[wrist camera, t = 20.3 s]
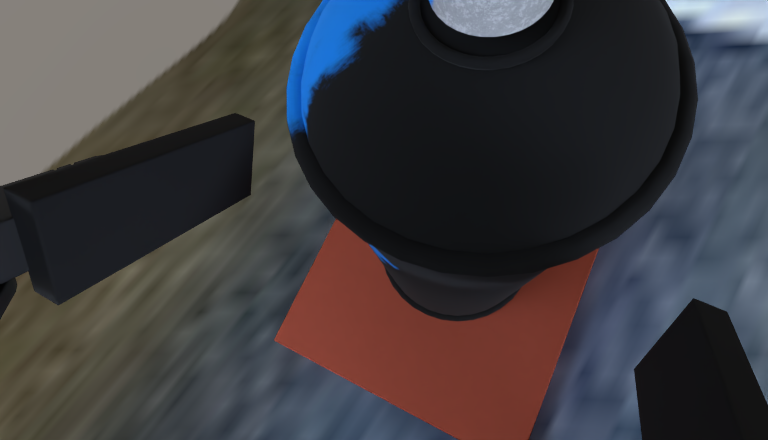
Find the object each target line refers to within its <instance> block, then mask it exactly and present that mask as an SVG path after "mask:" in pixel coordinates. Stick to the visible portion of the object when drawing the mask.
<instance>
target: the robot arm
mask: <svg viewBox="0 0 768 440" xmlns="http://www.w3.org/2000/svg"><path fill="white" fill-rule="evenodd" d="M254 126H255V121H254V120H251V119H249V118H246V117H244V116H241V115H239V114H236V113H234V114H231V115H228V116H224V117H221V118H218V119H215V120H212V121H209V122H206V123H203V124H200V125H196V126H193V127H190V128H187V129H184V130H181V131H178V132H175V133H171V134H168V135H165V136H162V137H159V138H156V139H153V140H150V141H147V142H143V143H140V144H137V145H134V146H131V147H128V148H125V149H122V150H119V151H115V152H112V153H109V154H106V155H101V156H94V157H91V158H88V159H85V160H81V161H78V162H75V163H74V164H73V165H71V164H69V165H66V166H63V167H59V168H57V170H56V171H55V170H50V171H47V172H44V173H40V174H37V175H34V176H31V177H28V178H25V179H22V180H18V181H15V182H12V183H9V184H6V185H3V186H0V319H1V317H2V315H3V313H4V312H5V310H6V308H7V306H8V304H9V303H10V301H11V299H12V297H13V296H14V294H15V292H16V288H17V282H16V279H15V277H17V276H19V275H21V274H23V273H25V272H27V271H29V275H30V278H31V281H32V285H33V288H34V291H35V292H37V293H39V294H40V295H42V296H44V297H45V298H47V299H49V300H50V301H52V302H53V303H55V304H57V305H60V304H62V303H63V302H65V301H67V300H69V299H70V298H72V297H74V296H75V295H77V294H79V293H81V292H82V291H84V290H86V289H88V288H89V287H91V286H93V285H95V284H96V283H98V282H100V281H102V280H103V279H105V278H107V277H108V276H110V275H112V274H114V273H115V272H117V271H119V270H121V269H122V268H124V267H126V266H128V265H129V264H131V263H133V262H135V261H136V260H138V259H140V258H141V257H143V256H145V255H147V254H148V253H150V252H152V251H154V250H155V249H157V248H159V247H161V246H162V245H164V244H166V243H168V242H169V241H171V240H173V239H174V238H176V237H178V236H180V235H181V234H183V233H185V232H187V231H188V230H190V229H192V228H194V227H195V226H197V225H199V224H201V223H202V222H204V221H206V220H207V219H209V218H211V217H213V216H214V215H216V214H218V213H220V212H221V211H223V210H225V209H227V208H228V207H230V206H232V205H234V204H235V203H237V202H239V201H240V200H242V199H244V198H246V197H247V196H249V195H251V179H252V161H253V144H254ZM634 372H635V381H636V390H637V398H638V407H639V415H640V424H641V432H642V440H768V405H767V402H766V400H765V398H764V395H763V393H762V391H761V389H760V386H759V384H758V382H757V379H756V377H755V375H754V372H753V370H752V368H751V366H750V363H749V361H748V359H747V356H746V354H745V352H744V349H743V347H742V345H741V343H740V340H739V338H738V336H737V333H736V331H735V329H734V326H733V324H732V322H731V320H730V317H729V315H728V313H727V312H726V311H724V310H721V309H719V308H716V307H714V306H711V305H709V304H707V303H704V302H702V301H699V300H697V299H694V298H693V299H692V301H691V302H690V303H689V304H688V305H687V307H686V308H685V309H684V310H683V311H682V312H681V314H680V315H679V316H678V317H677V318H676V320H675V321H674V322H673V323H672V324H671V326H670V327H669V328H668V329H667V330H666V332H665V333H664V334H663V335H662V336H661V338H660V339H659V340H658V341H657V342H656V344H655V345H654V346H653V347H652V348H651V350H650V351H649V352H648V353H647V354H646V356H645V357H644V358H643V359H642V360H641V362H640V363H639V364H638V365H637V366H636V367H635V369H634Z"/></svg>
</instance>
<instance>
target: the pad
mask: <svg viewBox="0 0 768 440" xmlns="http://www.w3.org/2000/svg"><path fill="white" fill-rule="evenodd" d="M598 249H599V248H598ZM598 249H596V250H594V251H592V252H590V253H589V254H587V255H585V256H583V257H581V258H579V259H577V260H574V261H571V262H568V263H564V264H561V265H558V266H554V267H551V268H548V269H546V270H545V271H543V272H542V273H541V274H539V275H538V276H536V277H535V278H534V279H532V280H531V281H529V282H528V283H527V284H525V285H524V286H522V287H521V289H520V290H519V291H518V292H517V294H516V295H515V296H514V298H513V299H512V300H511V301H509V302H508V303H507V304H506V305H505V306H503V307H502V308H501V309H499V310H497V311H495V312H494V313H492V314H490V315H488V316H485V317H482V318H478V319H475V320H469V321H448V320H441V319H438V318H435V317H432V316H428V315H426V314H424V313H422V312H421V311H419V310H417V309H415V308H413V307H412V306H411V305H410V304H409V303H407V302H406V301H405V300H404V299H403V298H402V297H401V296H400V295H399V293H398V292H397V291H396V290H395V288H394V287H393V286H392V284H391V282H390V280H389V278H388V276H387V274H386V271H385V267H384V265H383V264H382V262H381V261H380V260H379V258H378V257H377V255H376V254H375V253H374V251H373V250H372V249H371V247H370V246H369V244H368V243H366V242H364V241H363V240H362V239H361V238H359V237H358V236H357V235H356V234H355V233H353V232H352V231H351V230H350V229H348V228H347V227H346V226H345V225H344V224H342V223H341V222H340V221H339V220H337V219H336V220H335V222H334V224H333V226H332V228H331V230H330V232H329V234H328V236H327V238H326V240H325V242H324V243H323V245H322V247H321V249H320V251H319V253H318V255H317V257H316V259H315V261H314V263H313V265H312V267H311V269H310V271H309V273H308V275H307V277H306V279H305V281H304V283H303V284H302V286H301V288H300V290H299V292H298V294H297V296H296V298H295V300H294V302H293V304H292V306H291V308H290V310H289V312H288V314H287V316H286V318H285V320H284V322H283V323H282V325H281V327H280V329H279V331H278V333H277V335H276V337H275V339H274V340H275V341H276V342H278V343H280V344H282V345H284V346H285V347H287V348H289V349H291V350H293V351H295V352H297V353H298V354H300V355H302V356H304V357H306V358H308V359H310V360H312V361H313V362H315V363H317V364H319V365H321V366H323V367H325V368H326V369H328V370H330V371H332V372H334V373H336V374H338V375H339V376H341V377H343V378H345V379H347V380H349V381H351V382H352V383H354V384H356V385H358V386H360V387H362V388H364V389H365V390H367V391H369V392H371V393H373V394H375V395H377V396H378V397H380V398H382V399H384V400H386V401H388V402H390V403H391V404H393V405H395V406H397V407H399V408H401V409H403V410H404V411H406V412H408V413H410V414H412V415H414V416H416V417H418V418H419V419H421V420H423V421H425V422H427V423H429V424H431V425H432V426H434V427H436V428H438V429H440V430H442V431H444V432H445V433H447V434H449V435H451V436H453V437H455V438H457V439H458V440H529V438H530V435H531V432H532V429H533V427H534V424H535V421H536V418H537V416H538V413H539V410H540V408H541V405H542V402H543V399H544V397H545V394H546V391H547V388H548V386H549V383H550V380H551V378H552V375H553V372H554V369H555V367H556V364H557V361H558V358H559V356H560V353H561V350H562V347H563V345H564V342H565V339H566V337H567V334H568V331H569V328H570V326H571V323H572V320H573V317H574V315H575V312H576V309H577V307H578V304H579V301H580V298H581V296H582V293H583V290H584V287H585V285H586V282H587V279H588V276H589V274H590V271H591V268H592V266H593V263H594V260H595V257H596V255H597V252H598Z"/></svg>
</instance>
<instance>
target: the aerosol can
mask: <svg viewBox="0 0 768 440" xmlns="http://www.w3.org/2000/svg"><path fill="white" fill-rule="evenodd" d="M697 102H698V95H697V84H696V73H695V63H694V60H693V57H692V54H691V51H690V48H689V45H688V42H687V39H686V36H685V33H684V31H683V28H682V26H681V25H680V23H679V22H678V20H677V18H676V17H675V15H674V14H673V12H672V10H671V9H670V7H669V6H668V4H667V2H666V1H665V0H323V1H322V3H321V4H320V6H319V7H318V9H317V10H316V12H315V13H314V15H313V16H312V17H311V19H310V20H309V22H308V23H307V25H306V26H305V29H304V31H303V33H302V36H301V38H300V41H299V43H298V45H297V48H296V50H295V52H294V55H293V58H292V63H291V68H290V73H289V78H288V83H287V123H288V127H289V131H290V136H291V140H292V144H293V148H294V152H295V156H296V158H297V160H298V162H299V165H300V167H301V169H302V171H303V173H304V175H305V177H306V179H307V181H308V183H309V185H310V187H311V188H312V190H313V191H314V192H315V193H316V195H317V196H318V197H319V199H320V200H321V201H322V202H323V204H324V205H325V206H326V207H327V209H328V210H329V211H330V212H331V214H332V215H333V216H334V217H335V218H336V219H337V220H339V221H340V222H341V223H342V224H344V225H345V226H346V227H347V228H348V229H350V230H351V231H352V232H353V233H355V234H356V235H357V236H358V237H359V238H361V239H362V240H363V241H364V242H366V243H368V244H369V246H370V247H371V249H372V250H373V251H374V253H375V254H376V255H377V257H378V258H379V260H380V261H381V262H382V264H383V265H384V267H385V271H386V274H387V276H388V278H389V280H390V282H391V284H392V286H393V287H394V288H395V290H396V291H397V292H398V293H399V295H400V296H401V297H402V298H403V299H404V300H405V301H406V302H407V303H409V304H410V305H411V306H412V307H413V308H415V309H417V310H419V311H421V312H422V313H424V314H426V315H428V316H432V317H435V318H438V319H441V320H448V321H469V320H475V319H478V318H482V317H485V316H488V315H490V314H492V313H494V312H495V311H497V310H499V309H501V308H502V307H503V306H505V305H506V304H507V303H508V302H509V301H511V300H512V299H513V298H514V296H515V295H516V294H517V292H518V291H519V290H520V289H521V287H522V286H524V285H525V284H527V283H528V282H529V281H531V280H532V279H534V278H535V277H536V276H538V275H539V274H541V273H542V272H543V271H545V270H546V269H548V268H551V267H554V266H558V265H561V264H564V263H568V262H571V261H574V260H577V259H579V258H581V257H583V256H585V255H587V254H589V253H590V252H592V251H594V250H596V249H598V248H600V247H602V246H603V245H605V244H607V243H609V242H611V241H613V240H615V239H616V238H618V237H619V236H620V235H621V234H622V233H624V232H625V231H626V230H627V229H628V228H629V227H631V226H632V225H633V224H634V223H635V222H637V221H638V220H639V219H640V218H641V217H642V216H644V215H645V214H646V213H647V212H648V211H649V210H650V209H651V208H652V207H653V205H654V204H655V203H656V201H657V200H658V198H659V197H660V196H661V194H662V193H663V192H664V190H665V189H666V188H667V186H668V185H669V184H670V182H671V181H672V180H673V178H674V177H675V175H676V173H677V171H678V168H679V166H680V164H681V161H682V159H683V157H684V154H685V152H686V150H687V147H688V145H689V143H690V140H691V138H692V133H693V127H694V121H695V114H696V108H697Z"/></svg>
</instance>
